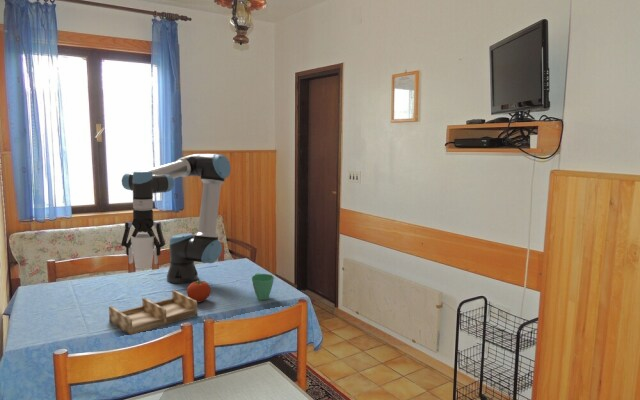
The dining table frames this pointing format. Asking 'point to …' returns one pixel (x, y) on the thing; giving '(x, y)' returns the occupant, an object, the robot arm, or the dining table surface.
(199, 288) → the tomato
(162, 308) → the rack
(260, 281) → the mug
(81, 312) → the dining table surface
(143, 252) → the foam cup
